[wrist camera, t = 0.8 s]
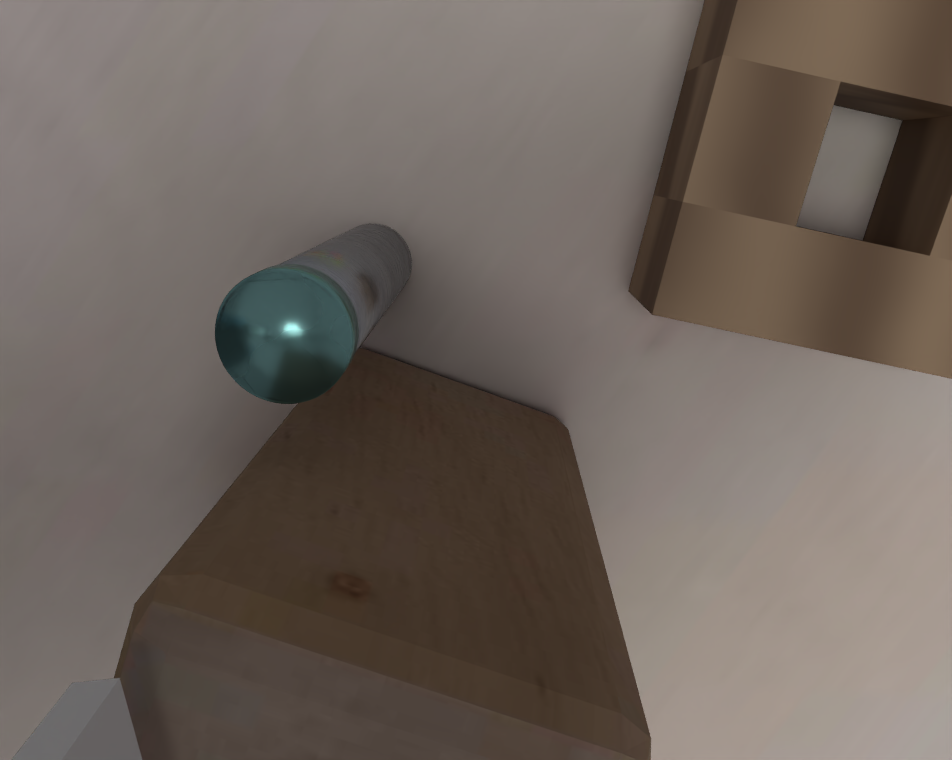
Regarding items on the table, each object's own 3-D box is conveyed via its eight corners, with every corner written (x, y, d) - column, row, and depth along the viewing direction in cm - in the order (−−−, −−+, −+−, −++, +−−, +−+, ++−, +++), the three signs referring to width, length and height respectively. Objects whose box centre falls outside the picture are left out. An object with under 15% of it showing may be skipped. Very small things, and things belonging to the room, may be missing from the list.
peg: (328, 292, 32) (207, 389, 19) (340, 214, 31) (223, 255, 18) (405, 309, 32) (339, 416, 19) (419, 231, 32) (362, 285, 18)
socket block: (628, 291, 32) (652, 314, 27) (715, -39, 29) (759, -79, 24) (923, 354, 32) (997, 388, 28) (1039, 35, 29) (1147, 11, 24)
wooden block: (343, 334, 33) (123, 584, 13) (575, 417, 33) (683, 769, 14) (273, 546, 35) (4, 1015, 16) (490, 620, 36) (484, 1154, 17)
